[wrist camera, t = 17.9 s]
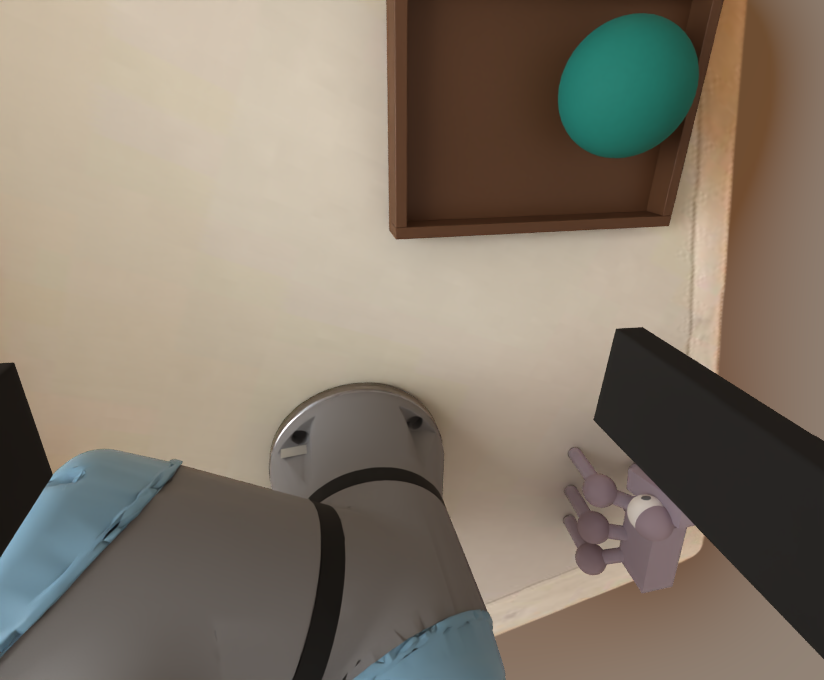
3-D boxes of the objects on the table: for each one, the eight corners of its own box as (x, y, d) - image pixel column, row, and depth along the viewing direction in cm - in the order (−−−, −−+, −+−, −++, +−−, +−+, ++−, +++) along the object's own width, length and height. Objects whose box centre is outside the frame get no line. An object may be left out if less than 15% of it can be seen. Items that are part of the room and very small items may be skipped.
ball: (578, 174, 36) (702, 143, 32) (556, 169, 30) (709, 128, 26) (562, 61, 35) (689, 14, 31) (535, 28, 28) (693, -38, 24)
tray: (647, 218, 40) (669, 226, 38) (389, 230, 36) (395, 239, 33) (698, -12, 33) (729, -21, 31) (385, -32, 29) (394, -44, 26)
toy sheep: (559, 379, 45) (654, 478, 33) (661, 358, 47) (786, 446, 35) (549, 530, 55) (621, 650, 43) (635, 508, 56) (727, 618, 44)
